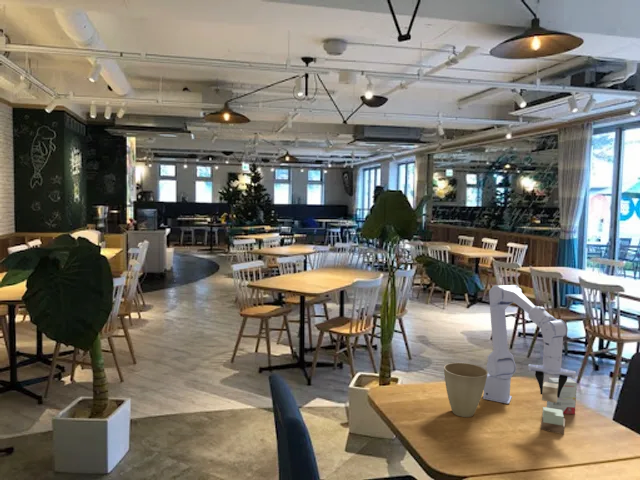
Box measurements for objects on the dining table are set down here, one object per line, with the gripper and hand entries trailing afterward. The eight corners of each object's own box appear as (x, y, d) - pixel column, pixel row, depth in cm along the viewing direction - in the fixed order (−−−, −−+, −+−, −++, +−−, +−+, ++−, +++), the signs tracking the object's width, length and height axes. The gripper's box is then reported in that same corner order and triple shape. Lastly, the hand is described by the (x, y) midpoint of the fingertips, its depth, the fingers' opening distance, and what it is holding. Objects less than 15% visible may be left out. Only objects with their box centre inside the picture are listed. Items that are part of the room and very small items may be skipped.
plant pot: (438, 417, 177) (440, 372, 176) (445, 401, 191) (447, 360, 189) (483, 425, 171) (486, 379, 170) (486, 409, 185) (489, 366, 184)
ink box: (570, 409, 187) (572, 378, 186) (575, 414, 182) (577, 382, 181) (545, 407, 188) (548, 376, 187) (550, 413, 183) (552, 381, 182)
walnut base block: (540, 430, 170) (541, 421, 170) (542, 422, 176) (542, 414, 176) (563, 435, 167) (564, 426, 166) (564, 427, 173) (565, 418, 173)
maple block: (541, 400, 171) (542, 385, 171) (543, 395, 175) (543, 381, 175) (556, 403, 169) (557, 388, 169) (557, 398, 173) (558, 384, 173)
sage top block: (543, 422, 169) (543, 413, 169) (542, 415, 175) (542, 406, 175) (563, 425, 167) (563, 416, 167) (561, 418, 173) (562, 409, 173)
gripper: (527, 355, 171) (525, 394, 172) (576, 362, 164) (573, 403, 165) (530, 350, 177) (528, 387, 178) (576, 356, 170) (574, 396, 172)
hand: (550, 395), depth 172 cm, fingers closed on maple block, 4 cm apart
